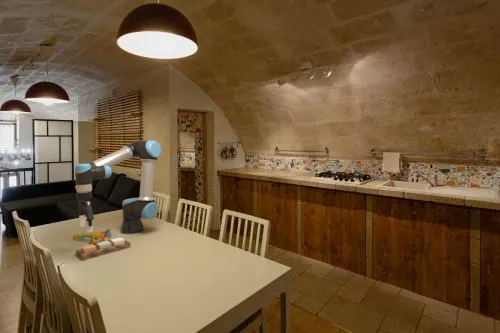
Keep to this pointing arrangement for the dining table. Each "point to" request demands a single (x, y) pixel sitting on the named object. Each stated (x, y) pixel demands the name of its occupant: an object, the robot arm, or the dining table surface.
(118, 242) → the tile cream
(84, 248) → the tile terracotta
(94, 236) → the toy gun
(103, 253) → the board
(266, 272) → the dining table surface
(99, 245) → the tile sage
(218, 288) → the dining table surface
